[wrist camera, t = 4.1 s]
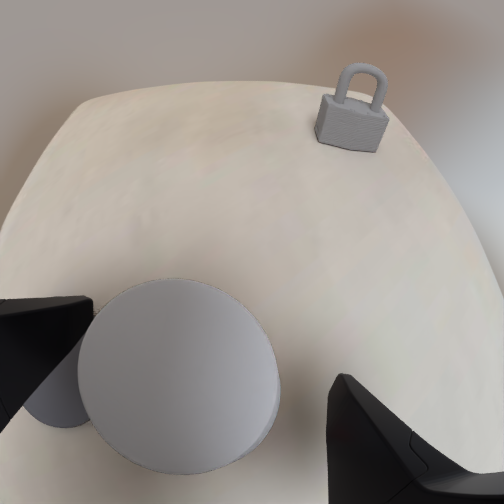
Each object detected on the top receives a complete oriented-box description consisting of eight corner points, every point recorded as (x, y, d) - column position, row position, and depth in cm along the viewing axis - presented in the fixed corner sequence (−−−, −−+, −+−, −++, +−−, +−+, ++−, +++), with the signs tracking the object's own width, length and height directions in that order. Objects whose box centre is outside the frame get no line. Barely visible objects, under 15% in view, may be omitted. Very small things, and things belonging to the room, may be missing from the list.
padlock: (367, 137, 29) (392, 68, 21) (377, 156, 27) (408, 81, 18) (313, 127, 29) (330, 50, 20) (318, 146, 26) (341, 61, 18)
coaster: (83, 454, 10) (79, 455, 10) (0, 377, 11) (-5, 375, 11) (135, 335, 15) (131, 332, 14) (46, 281, 16) (42, 277, 15)
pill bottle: (275, 370, 14) (337, 310, 6) (238, 457, 11) (249, 531, 3) (184, 333, 15) (131, 230, 7) (143, 415, 12) (30, 407, 4)
